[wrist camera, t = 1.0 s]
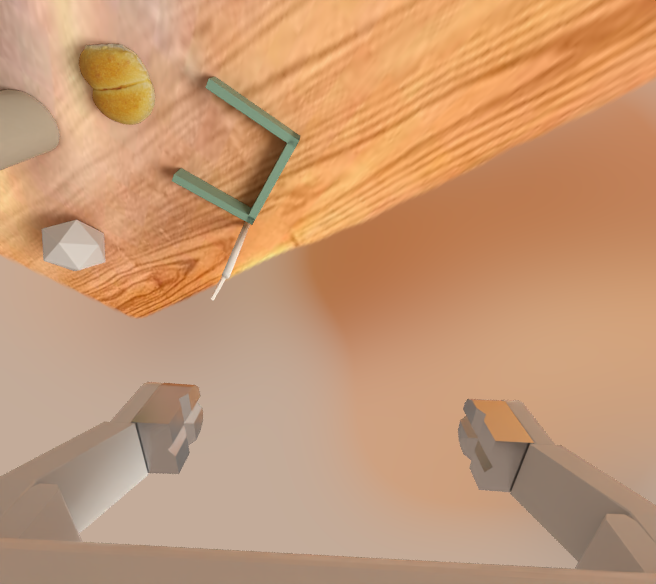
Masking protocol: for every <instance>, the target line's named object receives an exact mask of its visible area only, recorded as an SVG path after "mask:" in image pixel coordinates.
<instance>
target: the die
mask: <svg viewBox="0 0 656 584" xmlns="http://www.w3.org/2000/svg"><path fill="white" fill-rule="evenodd" d="M42 241H43V258H44V261H46V262H49V263H52V264H55V265H58V266H61V267H64V268H67V269H70V270H73V271H77V270H81V269H85V268H88V267H91V266H94V265H97V264H100V263H104V262H105V243H104V233H102V232H100V231H98V230H96V229H94V228H92V227H90V226H88V225H86V224H84V223H82V222H80V221H78V220H73V221H69V222H65V223H62V224H58V225H54V226H50V227H46V228H43V229H42Z"/></svg>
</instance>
